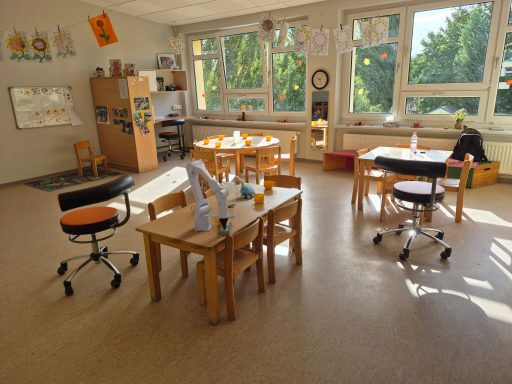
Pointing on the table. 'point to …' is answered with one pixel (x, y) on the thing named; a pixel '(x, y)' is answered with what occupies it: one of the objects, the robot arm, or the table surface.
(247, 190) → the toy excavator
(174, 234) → the table surface
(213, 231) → the table surface
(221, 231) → the grey button panel
